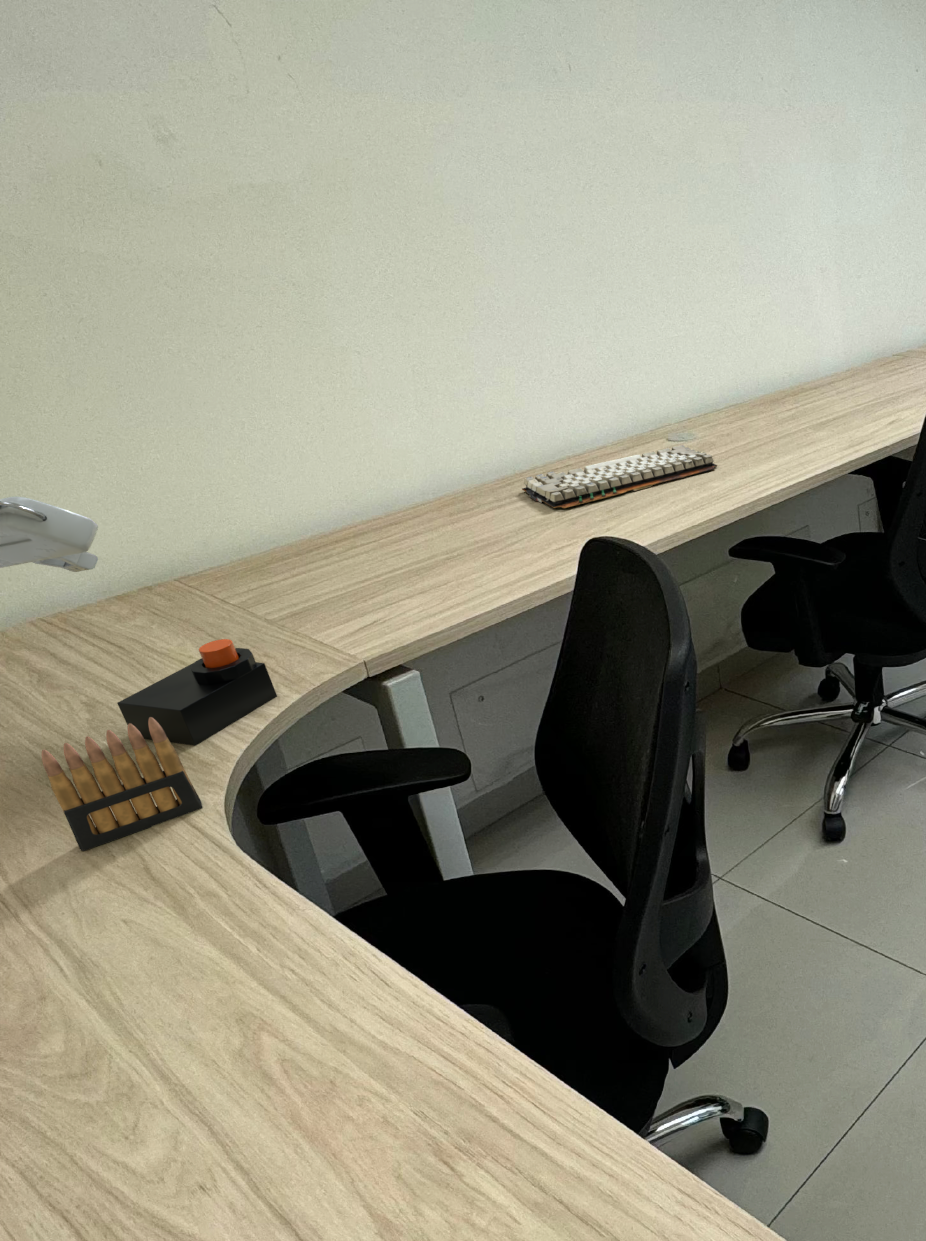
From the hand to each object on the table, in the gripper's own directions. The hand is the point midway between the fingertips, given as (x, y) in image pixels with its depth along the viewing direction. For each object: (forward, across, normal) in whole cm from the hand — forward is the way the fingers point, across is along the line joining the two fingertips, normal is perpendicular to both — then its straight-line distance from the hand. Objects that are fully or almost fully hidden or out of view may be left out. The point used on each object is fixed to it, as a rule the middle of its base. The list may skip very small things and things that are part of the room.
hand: (88, 565), depth 113 cm
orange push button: (+18, +2, +6) cm, 19 cm away
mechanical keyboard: (+88, +7, -58) cm, 105 cm away
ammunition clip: (+10, -9, +28) cm, 31 cm away
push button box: (+21, +5, +12) cm, 25 cm away
